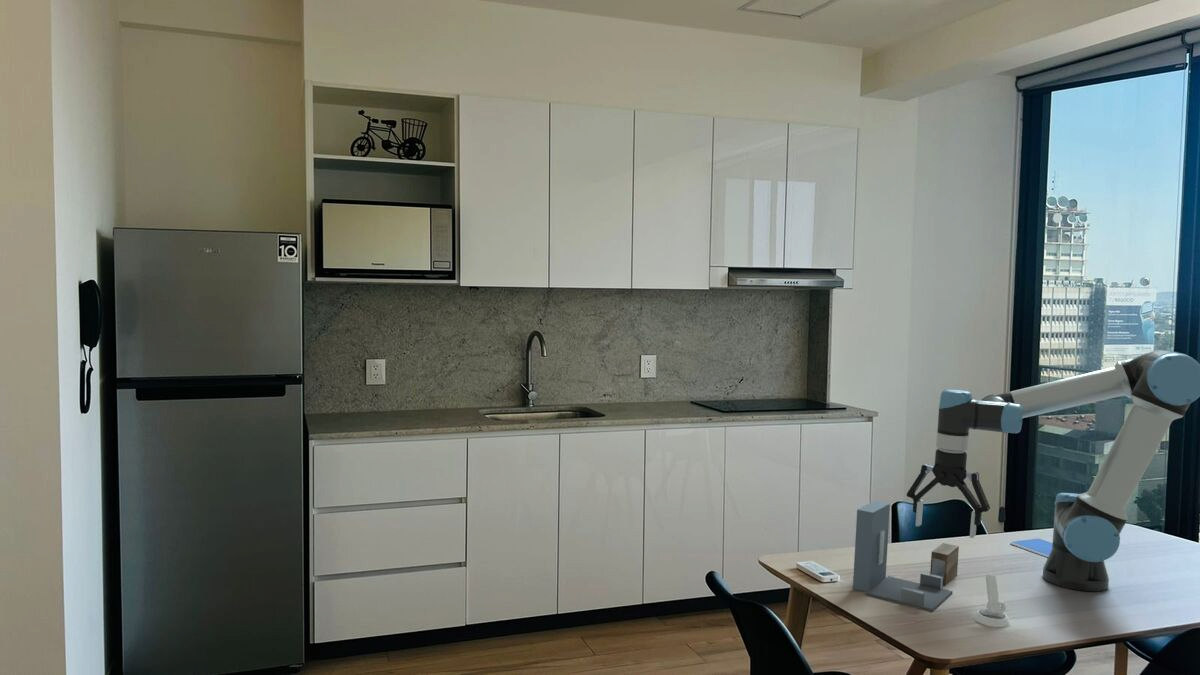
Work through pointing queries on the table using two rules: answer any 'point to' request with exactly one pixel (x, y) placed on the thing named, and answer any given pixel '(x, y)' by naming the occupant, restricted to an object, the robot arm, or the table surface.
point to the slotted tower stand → (874, 561)
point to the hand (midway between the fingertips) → (944, 531)
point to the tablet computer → (1035, 546)
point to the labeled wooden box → (945, 562)
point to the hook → (992, 606)
